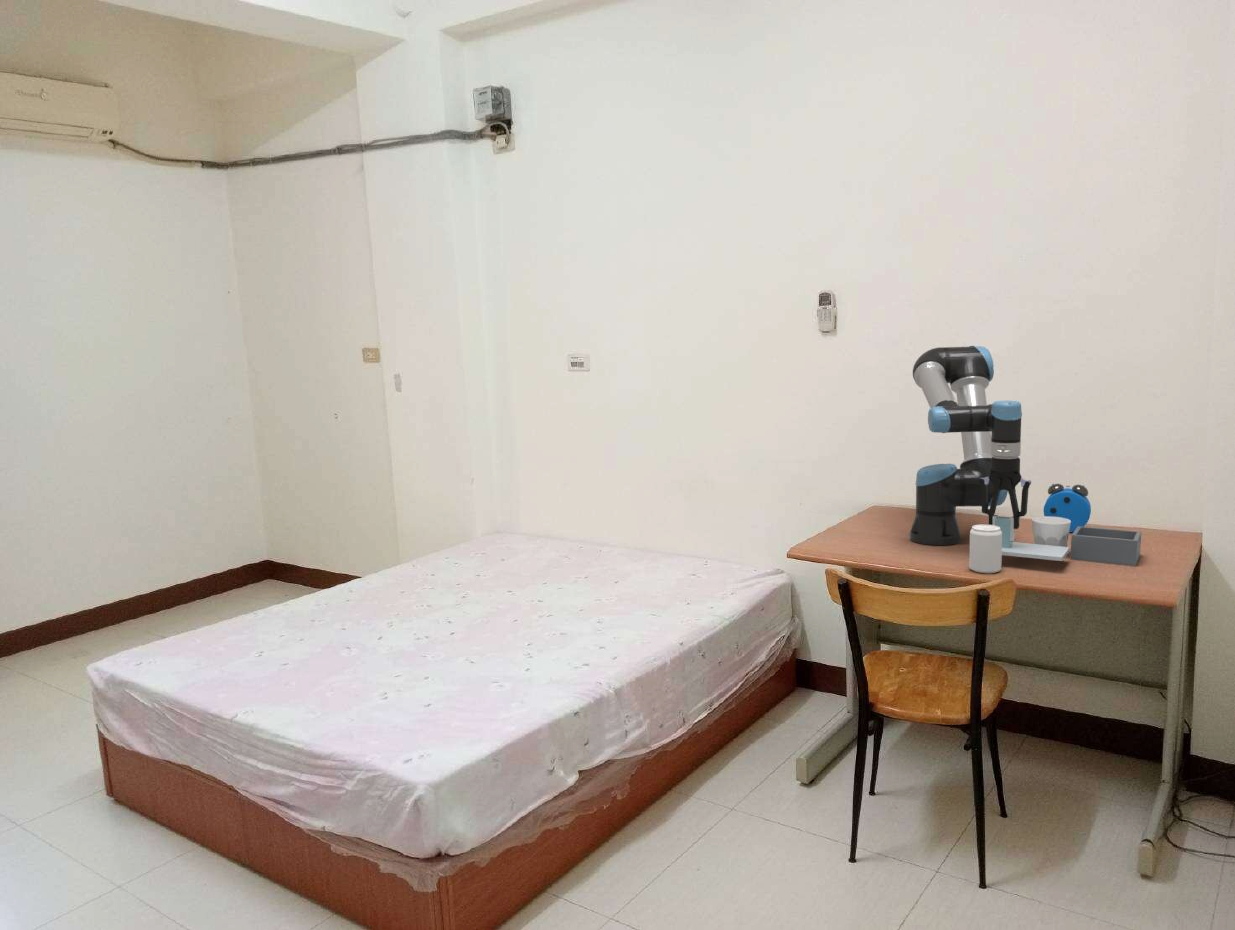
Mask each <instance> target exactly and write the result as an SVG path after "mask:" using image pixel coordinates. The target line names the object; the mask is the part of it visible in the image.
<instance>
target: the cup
mask: <svg viewBox="0 0 1235 930" xmlns="http://www.w3.org/2000/svg"><path fill="white" fill-rule="evenodd" d="M1031 524H1032V534H1033V544H1040V545H1050V546H1061V547H1068V541H1069V535H1070V532H1069V530H1070V524H1071V521H1070V520H1069V519H1066V518H1060V517H1049V516H1044V515H1043V516H1036V517H1033V518H1031Z"/></svg>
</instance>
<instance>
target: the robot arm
mask: <svg viewBox="0 0 1235 930" xmlns="http://www.w3.org/2000/svg"><path fill="white" fill-rule="evenodd" d="M994 366H995V365H994V360H993V356H992V354H991V352H990V350H989V349H988V348H986V347H985V346H982V345H981V346H975V345H970V346H951V347H949V346H948V347H942V346H941V347H934V348H931V349H929V350H926V351H925V352H924V353H922V354H921V355H920V356H919V357H918V358H917V360H916V361H915V363H914V365H913V367H912V378H913V380H914V382H915V384H916V385H917V386H918V387H919V388H920V389H921V390H922V393H923V394H924V397H925V399H926V401H927V403H928V406H929V410H928V414H927V424H928V429H929V431H930V432H932V433H941V434H947V433H960V435H961V442H962V443H961V445H962V450H963V461H961V463H960V464H959V468H958V467H957V465H956V464H955V463H935V464H930V465H926V466H923V467H920V468H919V469H918V470H917V471H916V472H917V473H916V478H915V479H916V480H915V515H914V519H913V522H912V525H911V527H910V529H909V540H910V541H911V542H912V543H913V542H914V543H917V544H922V545H929V546H950V545H951V546H952V545H956V544H959V543H960V542H961V541H962V532H961V529H960V525H959V522H958V519H957V516H956V511H957V509H956V508H957V507H981V513H983V514H986V515H987V516H988V525H995V519H996V518H997V517H998V516H999V515H998V514H996V510H997V506H998V507H999V506H1001V505H1003V504H1004V503H1005V501H1006V499H1007V496H1008V495H1009V501H1010V506H1011V510H1012V516H1011V519H1010V520H1011V523H1010V541H1013V542H1014V541H1015V540H1016V530H1018V529H1019V527H1020V518H1021V517H1024V516H1026V515H1027V513H1028V501H1029V500H1028V499H1029V490H1030V486H1031V484H1032V481H1031V480H1030V479H1025V478H1023V477H1022V475H1021V458H1020V456H1021V444H1022V443H1021V442H1022V441H1021V440H1022V438H1021V437H1022V416H1023V412H1022V403H1021V402H1020V401H1017V400H997V401H994V402H993V403H990V404H989V403H988V402H987V395H986V389H987V388H988V387H989V385H990V382H992V380H993V378H994V373H995V371H994V370H995V369H994ZM949 385H950V386H949ZM954 393H955V394H956V398H955V396H954ZM987 403H988V404H987ZM1019 483H1020V487H1022V489H1021V500H1020V502H1021V503H1020V508H1019V502H1018V498H1017V493H1016V487H1017V485H1018V484H1019Z"/></svg>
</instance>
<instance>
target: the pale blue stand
mask: <svg viewBox="0 0 1235 930" xmlns="http://www.w3.org/2000/svg"><path fill="white" fill-rule="evenodd" d="M1011 517H1012V516H1011ZM1011 517H1010V516H1008V517H1007V516H999V515H998V517H997V518H996V519H995V526H998V527H1000V530H1001V531H1002V556H1010V557H1017V558H1018V557H1019V558H1029V559H1037V560H1038V559H1039V560H1048V561H1057V562H1062V561H1064V559H1065V558H1066V556H1067V555H1068V554H1069V553H1070V552H1071V546H1067V547H1061V546H1050V545H1040V544H1034V543H1027V542H1018V541H1014V540H1013V541H1010V523H1011V520H1010V519H1011Z"/></svg>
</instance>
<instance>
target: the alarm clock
mask: <svg viewBox="0 0 1235 930" xmlns="http://www.w3.org/2000/svg"><path fill="white" fill-rule="evenodd" d="M1047 493H1048V495H1049V496H1048V497H1047V499H1046V500H1045V503H1044V506H1043V517H1044V516H1049V517H1060V518H1066V519H1069V520H1070V521H1071V524H1070V530H1069V533H1073V532H1074V531H1075V530H1076V528H1077V527H1078V526H1082V527H1086V525H1087V524H1088V523H1089V520H1090V517H1091V513H1092V507H1091V506H1092V505H1091V503H1090V501H1089V498H1088V497H1087V496H1088V495H1089V491H1088V489H1087V487H1086V486H1085V485H1082V484H1074V485H1073V486H1072V487H1071V485H1066V487H1065V486H1064V485H1062V484H1061V483H1055V484H1054V483H1052V485H1050V486H1049V487H1048V489H1047Z"/></svg>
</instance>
